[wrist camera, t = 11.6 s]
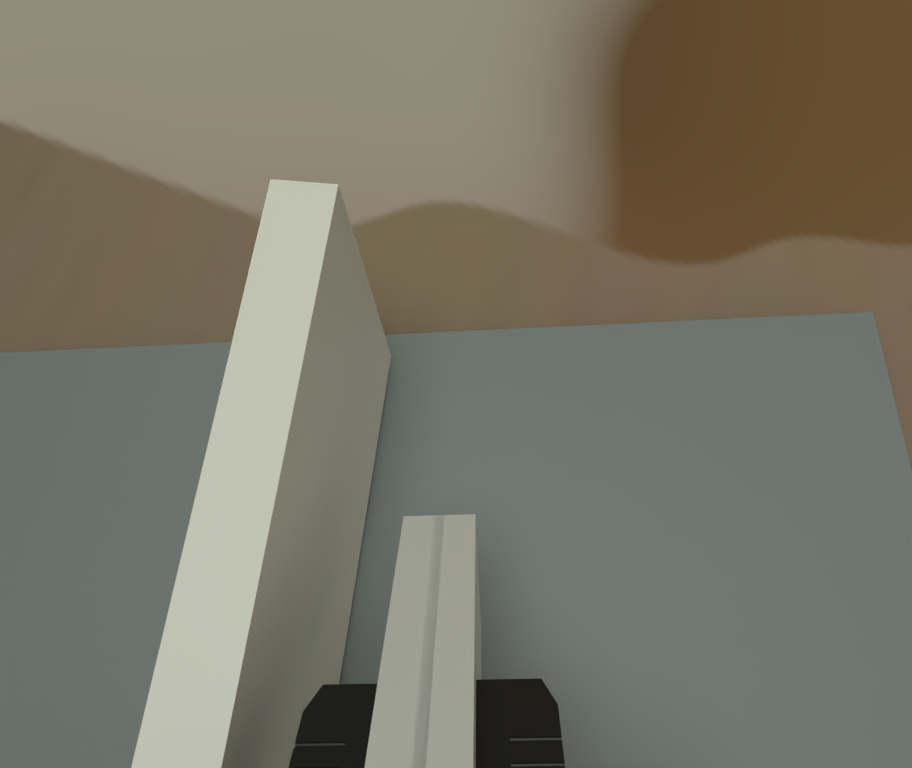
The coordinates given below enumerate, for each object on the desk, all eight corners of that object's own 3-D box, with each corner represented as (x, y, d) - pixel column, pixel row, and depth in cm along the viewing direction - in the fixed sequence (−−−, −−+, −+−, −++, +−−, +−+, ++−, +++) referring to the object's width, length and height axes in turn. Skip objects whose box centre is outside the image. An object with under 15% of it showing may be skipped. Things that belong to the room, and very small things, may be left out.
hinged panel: (298, 938, 16) (146, 1138, 9) (241, 929, 16) (47, 1120, 9) (391, 355, 21) (338, 184, 14) (346, 351, 21) (270, 179, 14)
